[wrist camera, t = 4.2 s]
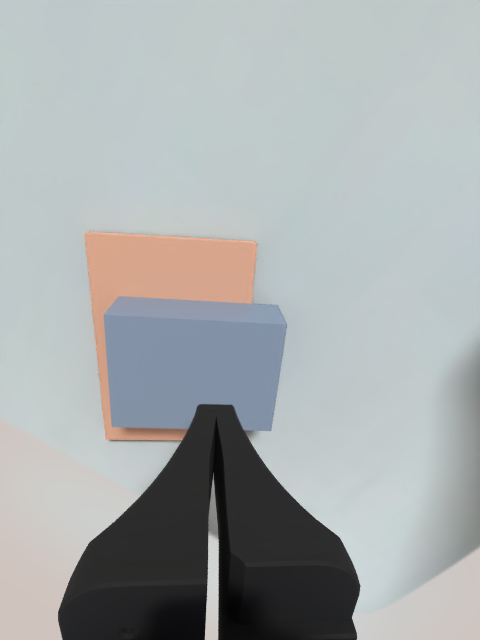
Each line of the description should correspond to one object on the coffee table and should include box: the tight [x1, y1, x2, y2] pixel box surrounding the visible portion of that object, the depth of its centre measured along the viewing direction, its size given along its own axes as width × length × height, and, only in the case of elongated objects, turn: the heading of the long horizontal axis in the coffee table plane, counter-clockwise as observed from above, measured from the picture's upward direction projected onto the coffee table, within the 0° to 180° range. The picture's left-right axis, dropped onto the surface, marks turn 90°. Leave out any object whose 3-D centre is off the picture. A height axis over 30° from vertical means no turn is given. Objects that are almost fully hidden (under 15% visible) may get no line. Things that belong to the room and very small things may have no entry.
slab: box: [104, 296, 287, 431], centre depth 17 cm, size 2×6×8 cm
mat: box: [85, 232, 257, 440], centre depth 19 cm, size 8×12×1 cm, turn 176°
